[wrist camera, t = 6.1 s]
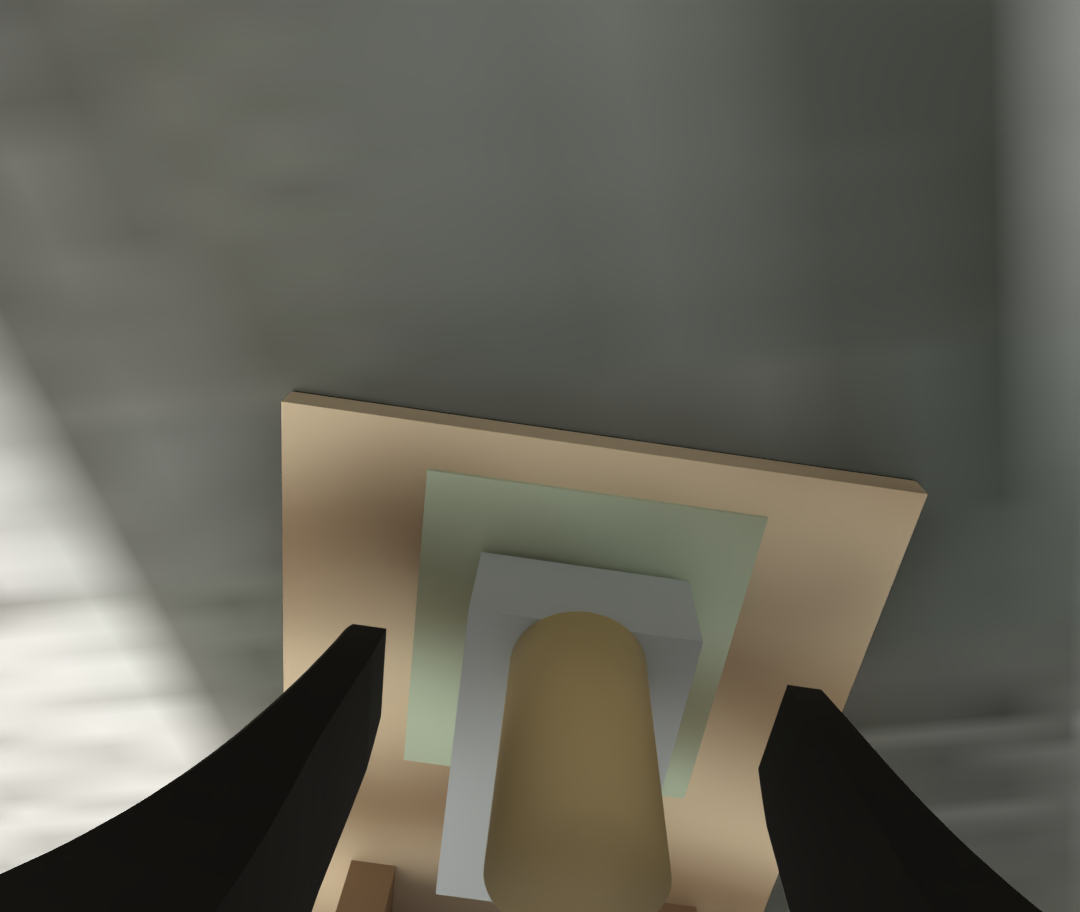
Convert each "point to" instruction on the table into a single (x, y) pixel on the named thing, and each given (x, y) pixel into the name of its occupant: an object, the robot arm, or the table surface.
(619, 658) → the tan-topped grey block
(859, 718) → the table surface
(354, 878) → the tunnel
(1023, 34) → the table surface
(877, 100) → the table surface
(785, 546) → the board
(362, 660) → the robot arm
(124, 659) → the table surface
